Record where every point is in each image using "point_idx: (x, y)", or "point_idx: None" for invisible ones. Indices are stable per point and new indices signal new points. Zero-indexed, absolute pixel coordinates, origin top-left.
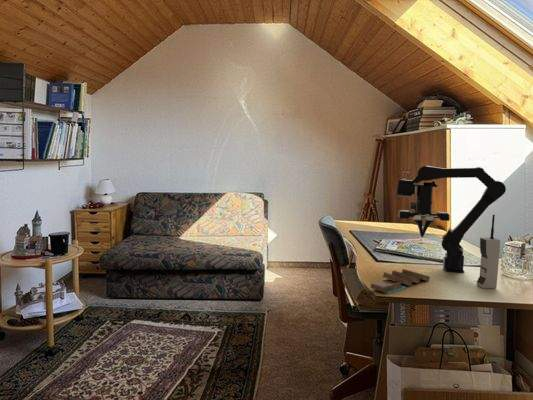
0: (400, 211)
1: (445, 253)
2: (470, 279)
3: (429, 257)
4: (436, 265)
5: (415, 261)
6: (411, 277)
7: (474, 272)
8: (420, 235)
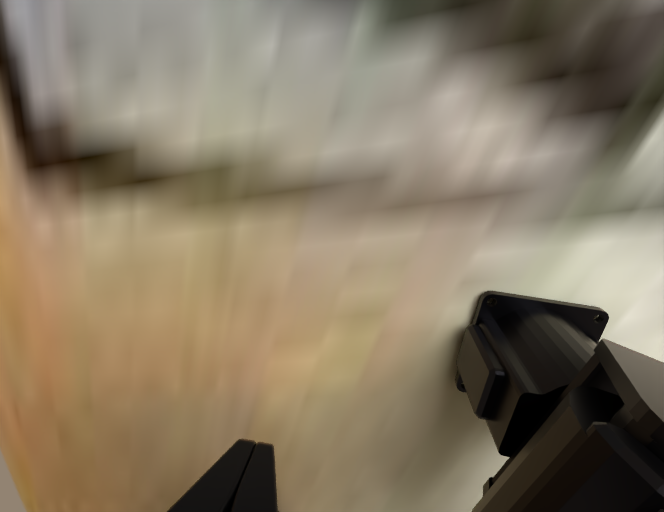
0: None
1: (516, 401)
2: None
3: None
4: (459, 234)
5: (327, 121)
6: None
7: None
8: (230, 457)
